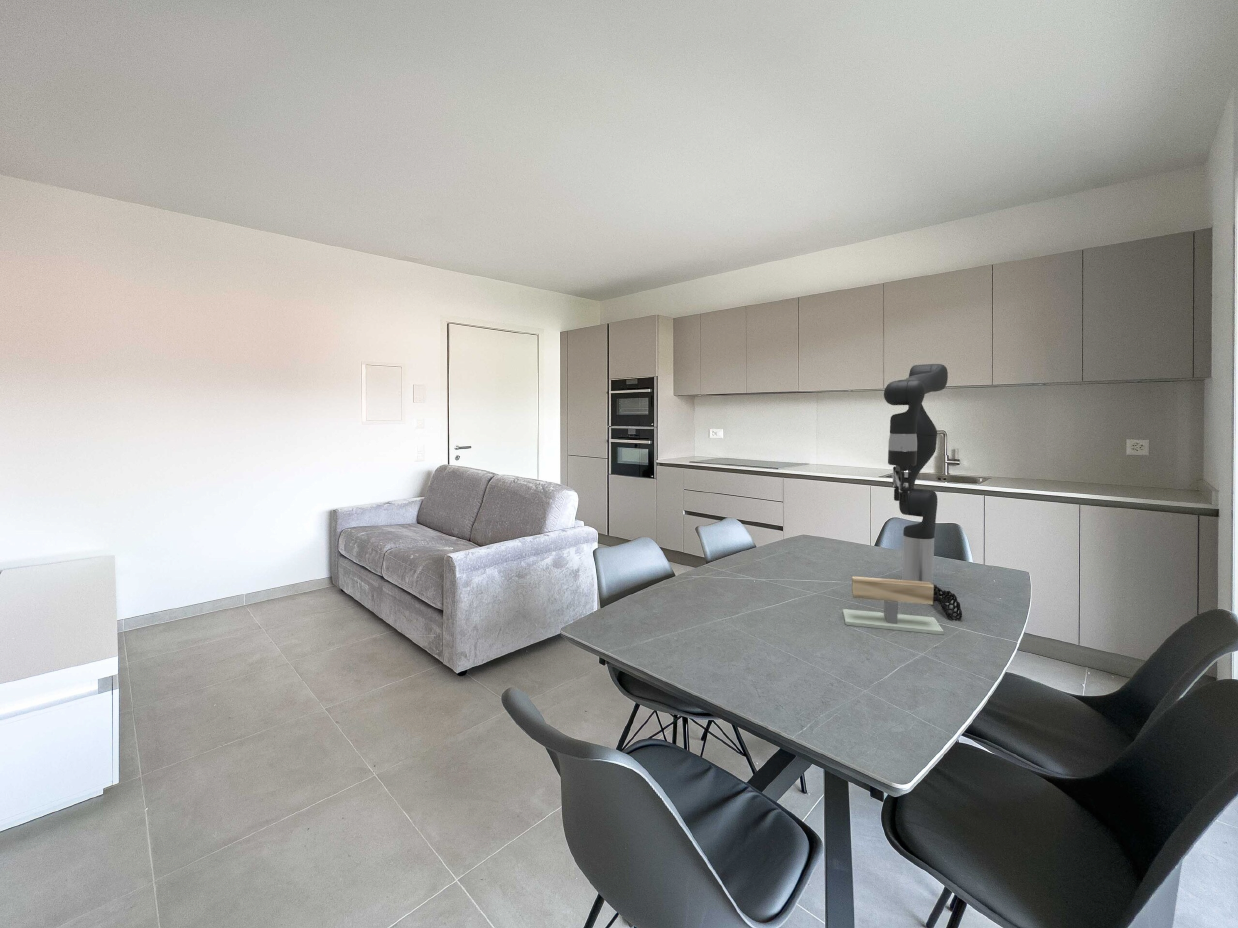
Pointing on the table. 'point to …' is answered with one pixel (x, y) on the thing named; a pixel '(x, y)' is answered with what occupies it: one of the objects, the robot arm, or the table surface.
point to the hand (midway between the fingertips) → (900, 503)
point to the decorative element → (947, 598)
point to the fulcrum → (892, 620)
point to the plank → (892, 590)
